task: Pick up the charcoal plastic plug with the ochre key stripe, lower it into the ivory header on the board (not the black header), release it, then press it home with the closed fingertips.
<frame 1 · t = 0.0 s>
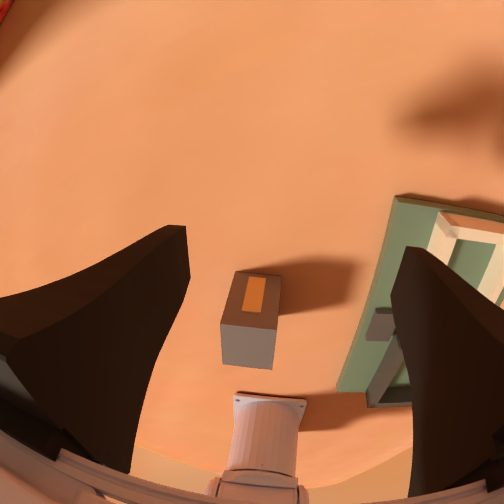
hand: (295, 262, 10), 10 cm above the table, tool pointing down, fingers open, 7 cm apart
plug: (257, 294, 24), on the table
board: (431, 316, 23), on the table
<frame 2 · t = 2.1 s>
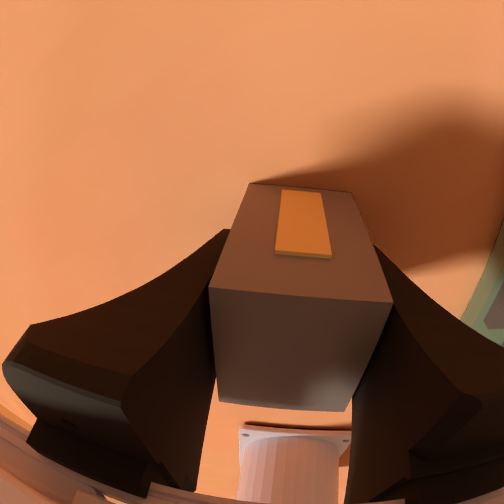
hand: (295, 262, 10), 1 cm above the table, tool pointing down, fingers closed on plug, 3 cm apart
plug: (295, 240, 11), on the table, touching gripper
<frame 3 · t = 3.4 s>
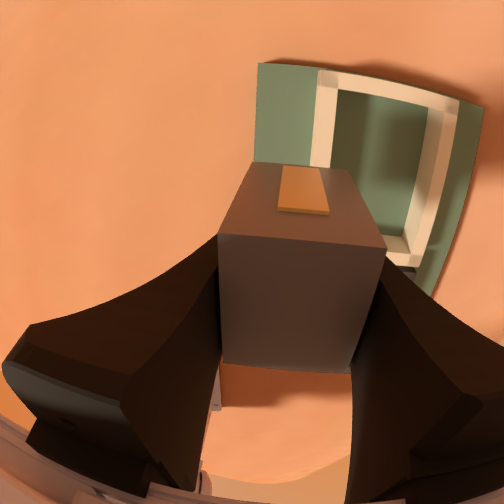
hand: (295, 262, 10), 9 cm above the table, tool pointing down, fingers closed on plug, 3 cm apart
plug: (295, 216, 12), point 7 cm above the table, touching gripper
board: (354, 238, 19), on the table
when the fingers open (4 cm above the table, at t = 4.9 s): plug stays where it is, resting on board.
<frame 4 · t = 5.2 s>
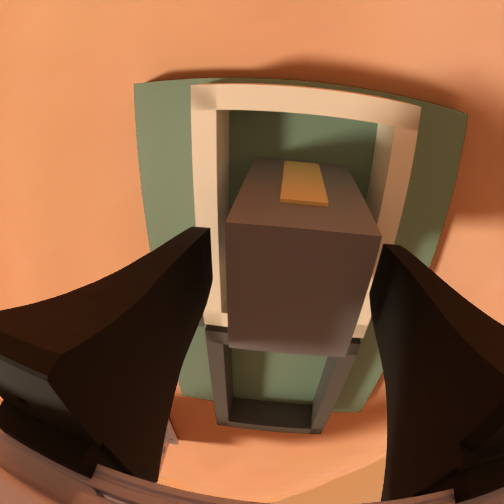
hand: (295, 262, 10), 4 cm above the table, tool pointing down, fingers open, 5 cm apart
plug: (296, 209, 12), point 1 cm above the table, touching board
board: (286, 292, 16), on the table
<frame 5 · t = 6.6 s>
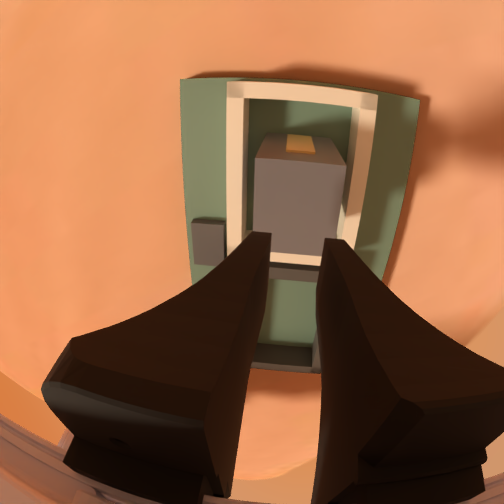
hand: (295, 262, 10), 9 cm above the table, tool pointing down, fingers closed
plug: (296, 169, 17), point 1 cm above the table, touching board
board: (289, 239, 20), on the table
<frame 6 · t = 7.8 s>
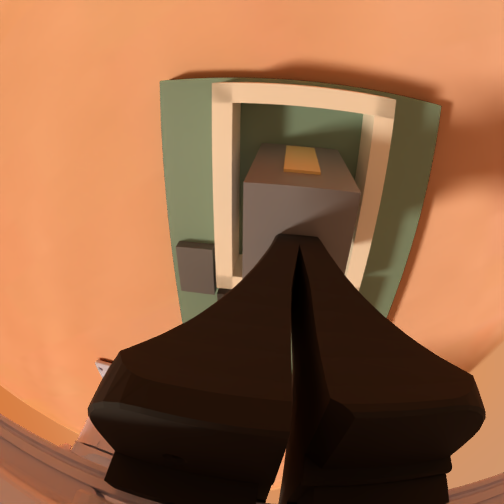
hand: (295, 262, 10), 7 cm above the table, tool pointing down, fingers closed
plug: (296, 187, 14), point 1 cm above the table, touching board
board: (288, 263, 18), on the table
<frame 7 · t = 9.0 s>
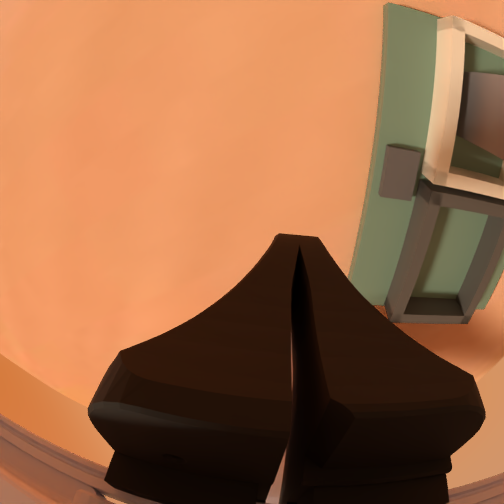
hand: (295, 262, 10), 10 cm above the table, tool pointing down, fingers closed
plug: (480, 109, 13), point 1 cm above the table, touching board
board: (459, 179, 17), on the table
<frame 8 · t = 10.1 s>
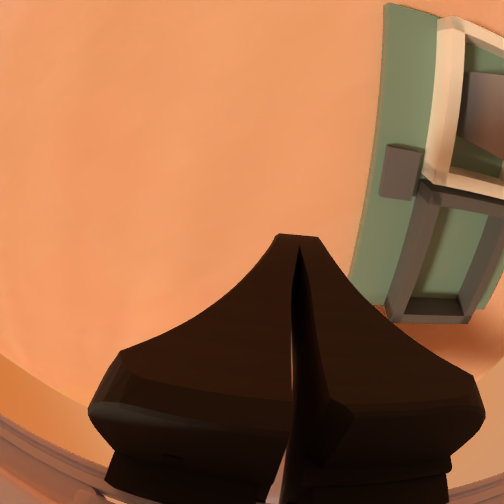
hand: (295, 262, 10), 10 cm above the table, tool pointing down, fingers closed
plug: (480, 109, 13), point 1 cm above the table, touching board
board: (459, 179, 17), on the table
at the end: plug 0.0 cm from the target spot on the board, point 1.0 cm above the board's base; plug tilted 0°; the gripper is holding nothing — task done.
